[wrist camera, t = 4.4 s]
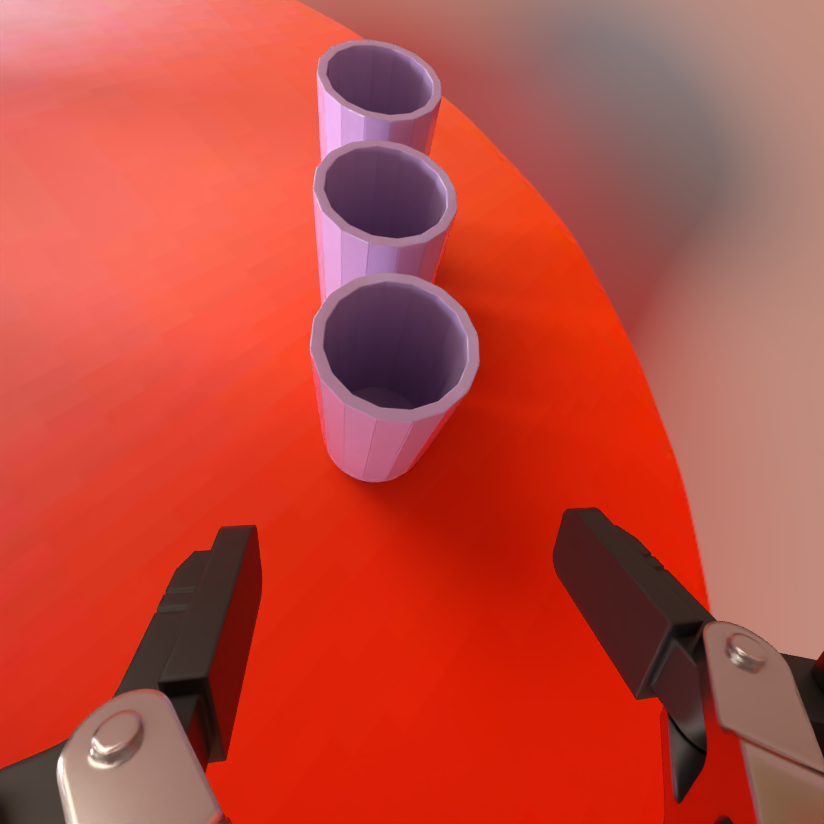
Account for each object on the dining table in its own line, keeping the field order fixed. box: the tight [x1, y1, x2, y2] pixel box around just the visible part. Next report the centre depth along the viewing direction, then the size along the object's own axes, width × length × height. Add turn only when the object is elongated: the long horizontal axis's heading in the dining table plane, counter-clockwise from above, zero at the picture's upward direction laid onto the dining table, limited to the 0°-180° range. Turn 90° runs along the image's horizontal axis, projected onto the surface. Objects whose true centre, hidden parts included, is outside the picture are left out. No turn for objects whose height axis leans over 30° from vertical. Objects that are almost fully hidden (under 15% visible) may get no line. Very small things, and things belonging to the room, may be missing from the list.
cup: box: [317, 40, 441, 162], centre depth 23 cm, size 6×6×10 cm
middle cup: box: [313, 139, 457, 305], centre depth 21 cm, size 6×6×10 cm
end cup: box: [310, 272, 480, 482], centre depth 18 cm, size 6×6×10 cm
